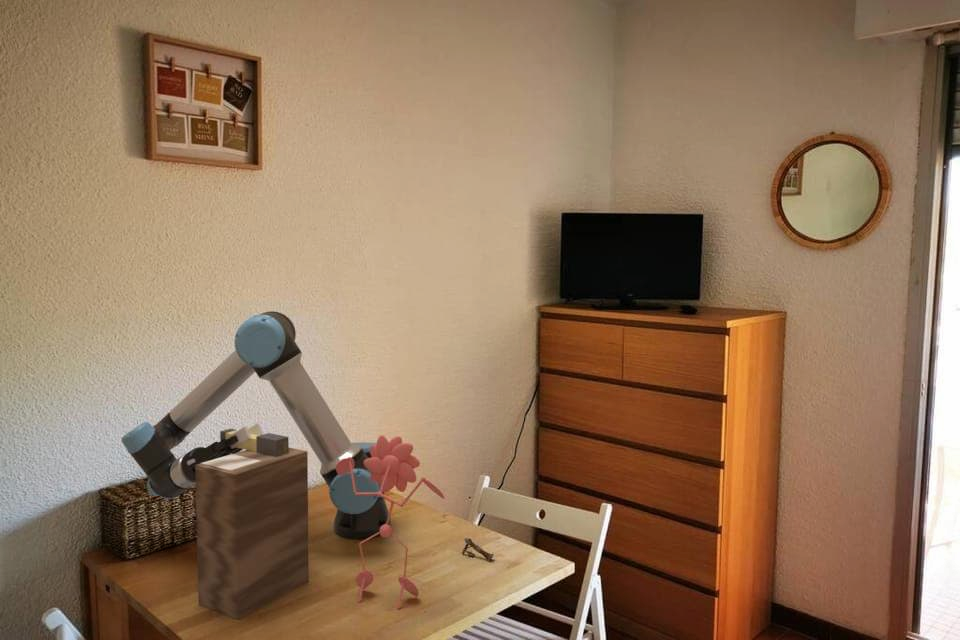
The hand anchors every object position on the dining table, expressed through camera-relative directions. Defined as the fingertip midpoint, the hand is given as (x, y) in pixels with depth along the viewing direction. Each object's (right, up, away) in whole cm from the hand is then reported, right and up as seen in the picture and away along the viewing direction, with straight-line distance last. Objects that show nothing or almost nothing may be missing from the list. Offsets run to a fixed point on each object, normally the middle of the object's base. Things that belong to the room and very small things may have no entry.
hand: (253, 430), depth 163 cm
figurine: (+31, -35, -2) cm, 47 cm away
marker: (0, -4, +1) cm, 4 cm away
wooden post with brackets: (+50, -34, +16) cm, 62 cm away
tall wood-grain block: (+1, -35, -4) cm, 35 cm away
